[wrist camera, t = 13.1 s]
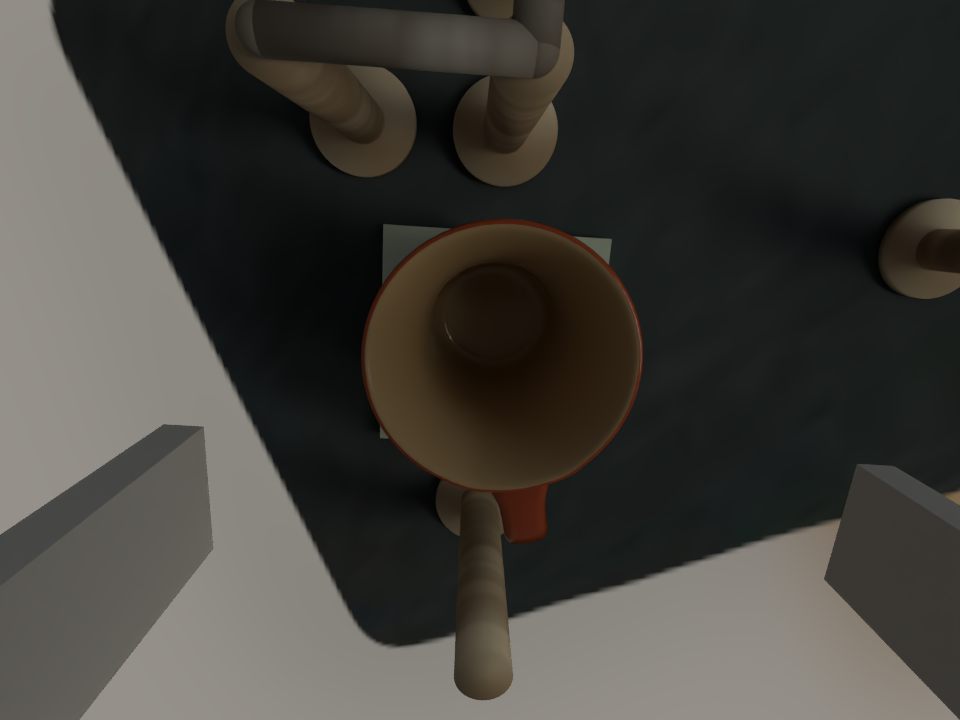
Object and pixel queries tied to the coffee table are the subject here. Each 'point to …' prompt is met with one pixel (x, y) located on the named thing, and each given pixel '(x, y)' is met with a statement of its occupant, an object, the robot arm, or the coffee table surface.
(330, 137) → the light wood frame
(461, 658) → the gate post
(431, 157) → the coffee table surface
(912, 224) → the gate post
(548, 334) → the mug
